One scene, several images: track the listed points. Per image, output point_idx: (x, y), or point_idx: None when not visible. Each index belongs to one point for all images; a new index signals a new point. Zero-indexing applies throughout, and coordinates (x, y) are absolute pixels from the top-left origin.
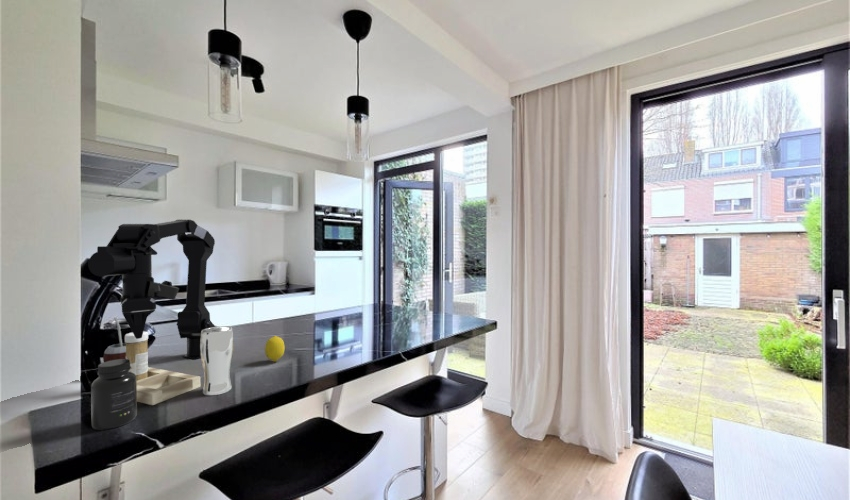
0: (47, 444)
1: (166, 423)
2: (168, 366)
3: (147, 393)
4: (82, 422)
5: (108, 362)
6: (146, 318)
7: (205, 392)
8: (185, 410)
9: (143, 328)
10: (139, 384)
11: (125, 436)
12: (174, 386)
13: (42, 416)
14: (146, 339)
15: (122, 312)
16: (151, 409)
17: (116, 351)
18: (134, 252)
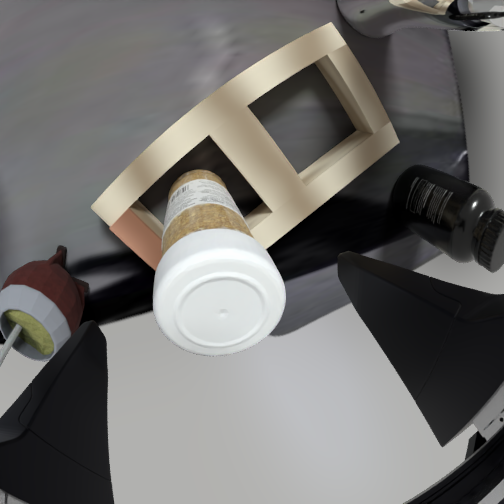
0: (420, 261)
1: (456, 122)
2: (26, 158)
3: (385, 152)
4: (381, 245)
5: (497, 259)
6: (484, 293)
7: (387, 35)
8: (432, 87)
9: (403, 271)
10: (301, 180)
11: (459, 173)
12: (374, 92)
13: (305, 319)
14: (238, 232)
15: (468, 426)
16: (399, 139)
17: (65, 331)
18: None
